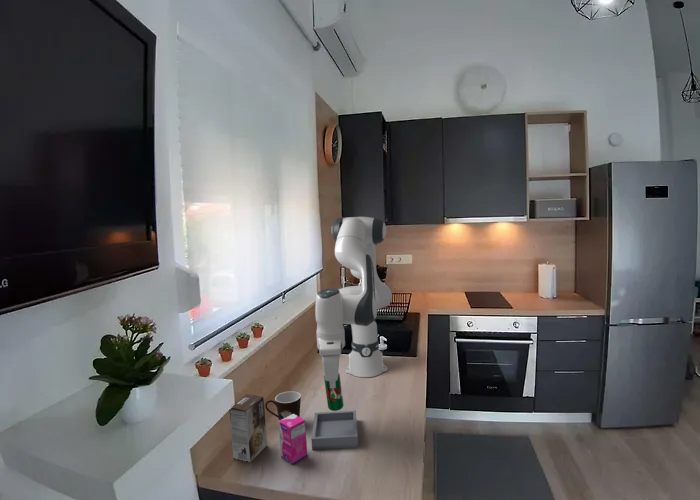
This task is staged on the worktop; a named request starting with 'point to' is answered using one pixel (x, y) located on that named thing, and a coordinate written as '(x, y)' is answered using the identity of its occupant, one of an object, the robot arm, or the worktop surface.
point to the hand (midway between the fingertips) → (333, 383)
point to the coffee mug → (286, 404)
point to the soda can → (334, 395)
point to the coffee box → (248, 427)
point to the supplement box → (293, 438)
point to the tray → (334, 430)
